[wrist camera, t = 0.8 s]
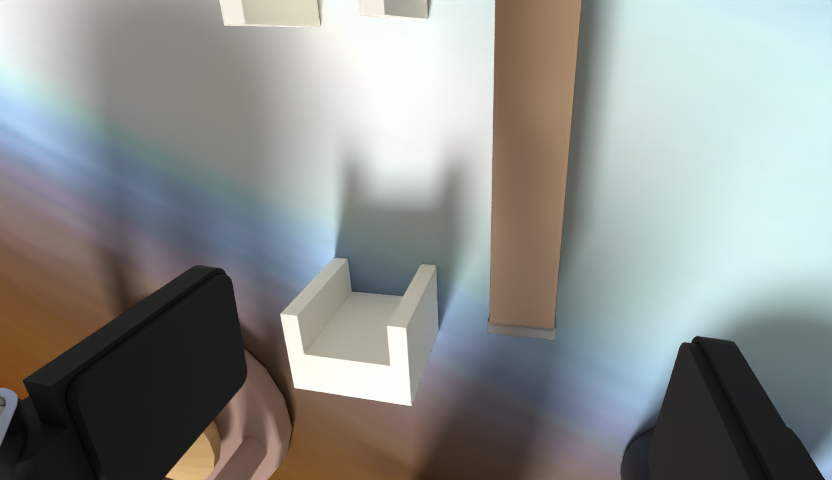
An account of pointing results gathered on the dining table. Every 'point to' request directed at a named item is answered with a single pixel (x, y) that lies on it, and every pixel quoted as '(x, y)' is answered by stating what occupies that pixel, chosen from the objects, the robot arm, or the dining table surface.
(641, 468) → the mug
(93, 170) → the dining table surface
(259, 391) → the hourglass
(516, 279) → the rail
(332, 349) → the white u-channel cradle
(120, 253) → the dining table surface
